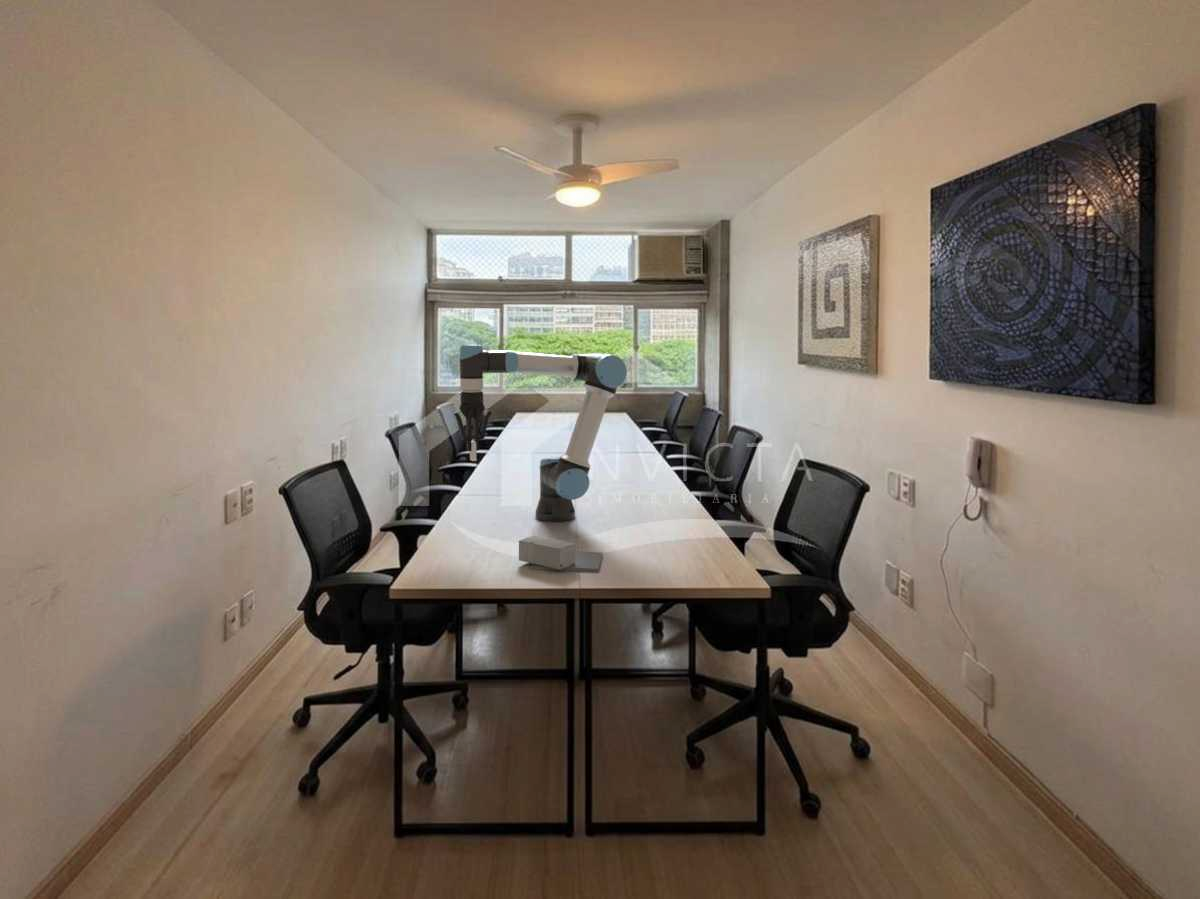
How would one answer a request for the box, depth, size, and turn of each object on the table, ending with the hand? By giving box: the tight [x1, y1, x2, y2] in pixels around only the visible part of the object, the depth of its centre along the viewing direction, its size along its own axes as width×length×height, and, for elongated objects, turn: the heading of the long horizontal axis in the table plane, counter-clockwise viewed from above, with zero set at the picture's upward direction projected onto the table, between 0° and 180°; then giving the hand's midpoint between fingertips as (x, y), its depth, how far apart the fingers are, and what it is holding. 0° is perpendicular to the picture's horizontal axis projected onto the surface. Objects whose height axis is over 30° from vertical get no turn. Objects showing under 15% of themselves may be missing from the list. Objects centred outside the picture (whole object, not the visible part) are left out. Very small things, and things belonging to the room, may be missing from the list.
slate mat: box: [530, 551, 603, 573], centre depth 221 cm, size 20×16×1 cm
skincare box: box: [518, 535, 577, 569], centre depth 216 cm, size 8×7×16 cm
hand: (473, 460), depth 245 cm, fingers closed
